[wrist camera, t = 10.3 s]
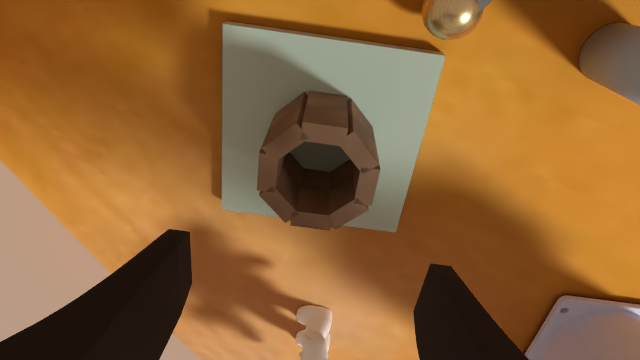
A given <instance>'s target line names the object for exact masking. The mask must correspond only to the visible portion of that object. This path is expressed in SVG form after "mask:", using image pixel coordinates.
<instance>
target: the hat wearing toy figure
mask: <svg viewBox="0 0 640 360" xmlns="http://www.w3.org/2000/svg"><path fill="white" fill-rule="evenodd" d="M296 319H297V321H298V322H299V323H301V324H303V325H306V328H305V330H301V331H299V332H298V333H297V334H296V344H297V345H298V346H301V347H302V348H303V350H302V352H300V353H299V356H300V357H301V360H328V350H329V345H330V334H329V333H328V332H329V330H330V327H331V322H332V312H331V311H330V309H327V308H325V307H320V306H314V305H306V306H302V307H300V308H299V309H298V310H297V314H296Z"/></svg>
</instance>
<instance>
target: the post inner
mask: <svg viewBox="0 0 640 360" xmlns="http://www.w3.org/2000/svg"><path fill="white" fill-rule="evenodd" d="M579 67H580V70H581V72H582V73H583V74H584V75H585V76H586V77H587V78H589V79H591V80H593V81H595V82H596V83H598V84H600V85H602V86H604V87H606V88H608V89H610V90H612V91H614V92H616V93H618V94H620V95H622V96H623V97H625V98H627V99H629V100H631V101H633V102H635V103H637V104H639V105H640V27H639V26H635V25H631V24H627V23H620V22H619V23H612V24H608V25H606V26H603V27H602V28H600V29H598V30H597V31H595V32H594V33H593V34H592V35H591V36H590V37H589V38H588V39H587V40H586V42H585V43H584V45H583V47H582V49H581V51H580V55H579Z"/></svg>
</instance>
